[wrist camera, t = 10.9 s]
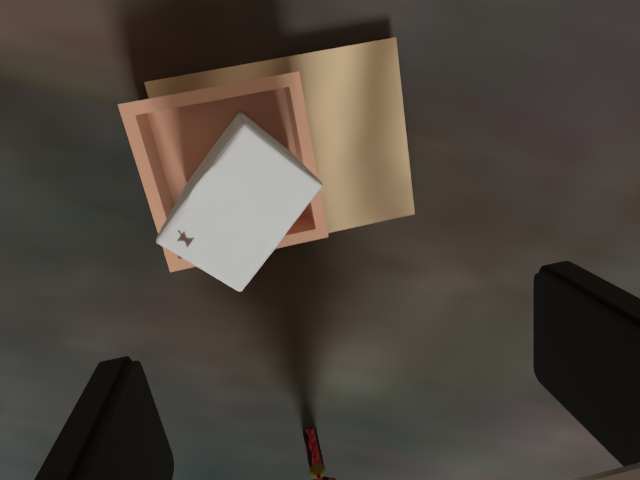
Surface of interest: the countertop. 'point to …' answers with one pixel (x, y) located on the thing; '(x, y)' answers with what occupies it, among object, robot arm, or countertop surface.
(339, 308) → the countertop surface
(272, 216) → the skincare box
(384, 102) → the board
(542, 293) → the robot arm
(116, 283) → the countertop surface
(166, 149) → the pink square tray
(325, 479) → the lantern
